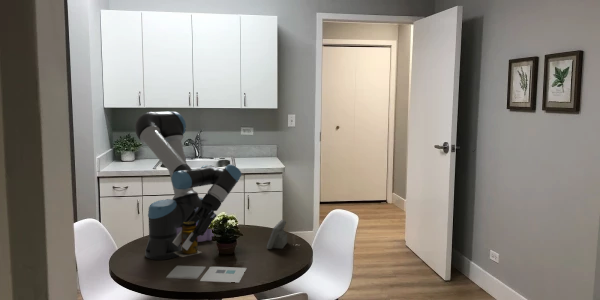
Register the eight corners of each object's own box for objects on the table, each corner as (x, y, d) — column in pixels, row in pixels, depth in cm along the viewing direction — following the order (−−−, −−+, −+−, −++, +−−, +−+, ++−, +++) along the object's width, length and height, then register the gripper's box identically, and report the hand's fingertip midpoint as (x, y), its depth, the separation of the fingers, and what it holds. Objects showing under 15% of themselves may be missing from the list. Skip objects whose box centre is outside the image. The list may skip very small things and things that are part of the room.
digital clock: (276, 239, 230) (276, 218, 229) (293, 241, 227) (293, 220, 225) (260, 249, 215) (260, 226, 214) (278, 251, 212) (278, 228, 211)
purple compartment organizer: (168, 242, 224) (168, 228, 223) (174, 234, 236) (174, 221, 236) (210, 242, 225) (210, 228, 224) (214, 234, 237) (214, 221, 237)
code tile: (199, 282, 177) (199, 280, 177) (210, 267, 192) (210, 266, 192) (239, 283, 176) (239, 282, 176) (246, 269, 191) (246, 267, 191)
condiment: (202, 252, 184) (201, 222, 183) (182, 257, 178) (182, 226, 177) (192, 248, 189) (191, 219, 188) (173, 253, 184) (172, 223, 182)
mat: (166, 278, 180) (166, 276, 180) (177, 266, 192) (177, 265, 192) (197, 279, 179) (197, 278, 179) (205, 267, 191) (205, 266, 191)
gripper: (234, 207, 186) (199, 257, 176) (206, 200, 199) (173, 246, 190) (222, 196, 182) (186, 246, 172) (195, 189, 195) (160, 236, 185)
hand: (179, 246), depth 181 cm, fingers closed on condiment, 6 cm apart
